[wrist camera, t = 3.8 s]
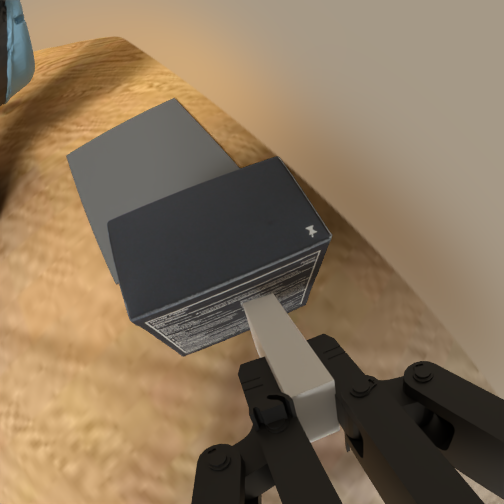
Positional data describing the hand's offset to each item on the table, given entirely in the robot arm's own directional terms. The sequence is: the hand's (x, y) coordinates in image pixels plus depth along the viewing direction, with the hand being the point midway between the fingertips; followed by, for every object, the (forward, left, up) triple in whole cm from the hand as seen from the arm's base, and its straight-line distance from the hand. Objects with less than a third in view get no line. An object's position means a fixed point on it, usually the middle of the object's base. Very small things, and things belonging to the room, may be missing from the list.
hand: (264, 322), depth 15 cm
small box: (-5, 0, -9) cm, 10 cm away
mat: (-20, 0, -9) cm, 22 cm away
